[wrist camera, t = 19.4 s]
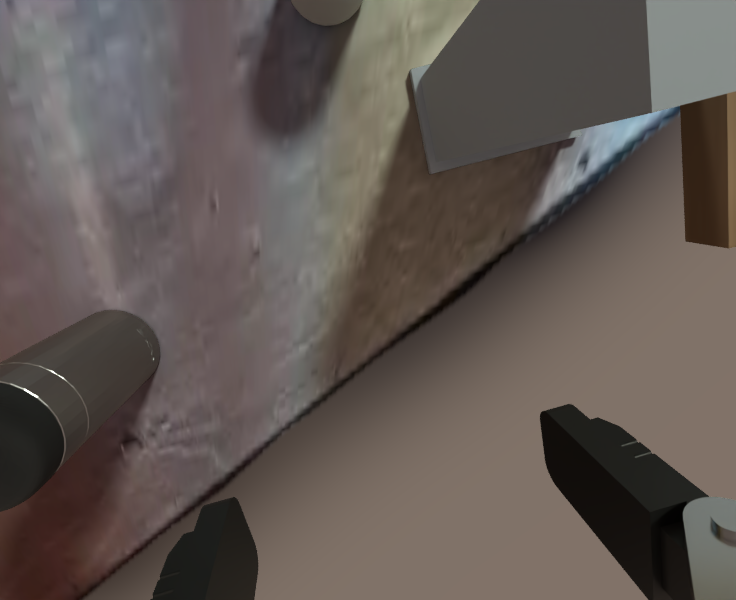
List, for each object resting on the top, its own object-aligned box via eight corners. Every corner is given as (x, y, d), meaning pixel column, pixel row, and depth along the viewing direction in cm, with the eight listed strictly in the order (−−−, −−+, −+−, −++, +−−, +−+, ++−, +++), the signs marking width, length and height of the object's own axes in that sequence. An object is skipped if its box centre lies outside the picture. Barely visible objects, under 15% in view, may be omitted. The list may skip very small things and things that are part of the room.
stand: (429, 174, 44) (631, 150, 14) (409, 71, 42) (604, -245, 11) (576, 136, 44) (1111, 27, 14) (565, 31, 42) (1203, -400, 11)
